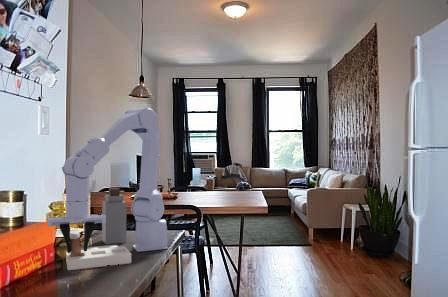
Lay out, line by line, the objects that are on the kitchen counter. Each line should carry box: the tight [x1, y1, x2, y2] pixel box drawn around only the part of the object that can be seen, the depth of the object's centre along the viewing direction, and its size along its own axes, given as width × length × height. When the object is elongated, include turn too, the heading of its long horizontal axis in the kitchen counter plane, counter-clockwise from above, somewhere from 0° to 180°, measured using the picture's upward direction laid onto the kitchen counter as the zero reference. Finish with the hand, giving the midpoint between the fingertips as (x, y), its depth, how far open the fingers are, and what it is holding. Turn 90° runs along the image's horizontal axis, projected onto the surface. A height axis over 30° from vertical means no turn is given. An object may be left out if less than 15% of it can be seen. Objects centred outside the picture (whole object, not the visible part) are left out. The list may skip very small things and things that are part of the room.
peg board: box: [65, 245, 132, 271], centre depth 105 cm, size 16×10×2 cm, turn 115°
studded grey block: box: [70, 232, 120, 250], centre depth 114 cm, size 14×6×6 cm, turn 115°
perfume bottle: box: [101, 187, 127, 245], centre depth 132 cm, size 7×7×18 cm
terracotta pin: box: [70, 237, 82, 257], centre depth 103 cm, size 3×3×7 cm
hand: (77, 251), depth 103 cm, fingers open, 3 cm apart
